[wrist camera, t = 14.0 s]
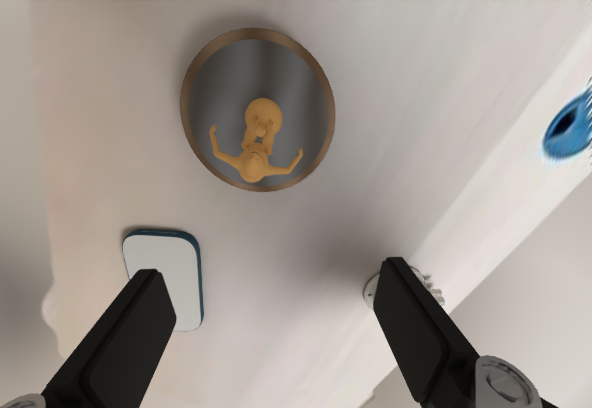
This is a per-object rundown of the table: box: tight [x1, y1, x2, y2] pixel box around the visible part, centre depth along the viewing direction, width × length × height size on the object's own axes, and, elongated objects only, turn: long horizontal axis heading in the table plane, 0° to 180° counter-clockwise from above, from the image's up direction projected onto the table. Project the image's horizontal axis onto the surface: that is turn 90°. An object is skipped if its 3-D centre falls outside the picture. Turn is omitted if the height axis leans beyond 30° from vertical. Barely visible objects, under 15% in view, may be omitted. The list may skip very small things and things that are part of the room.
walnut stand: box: [180, 28, 335, 192], centre depth 28 cm, size 18×18×4 cm
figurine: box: [209, 98, 303, 183], centre depth 21 cm, size 8×6×12 cm
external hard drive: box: [122, 229, 204, 331], centre depth 40 cm, size 24×12×2 cm, turn 172°
